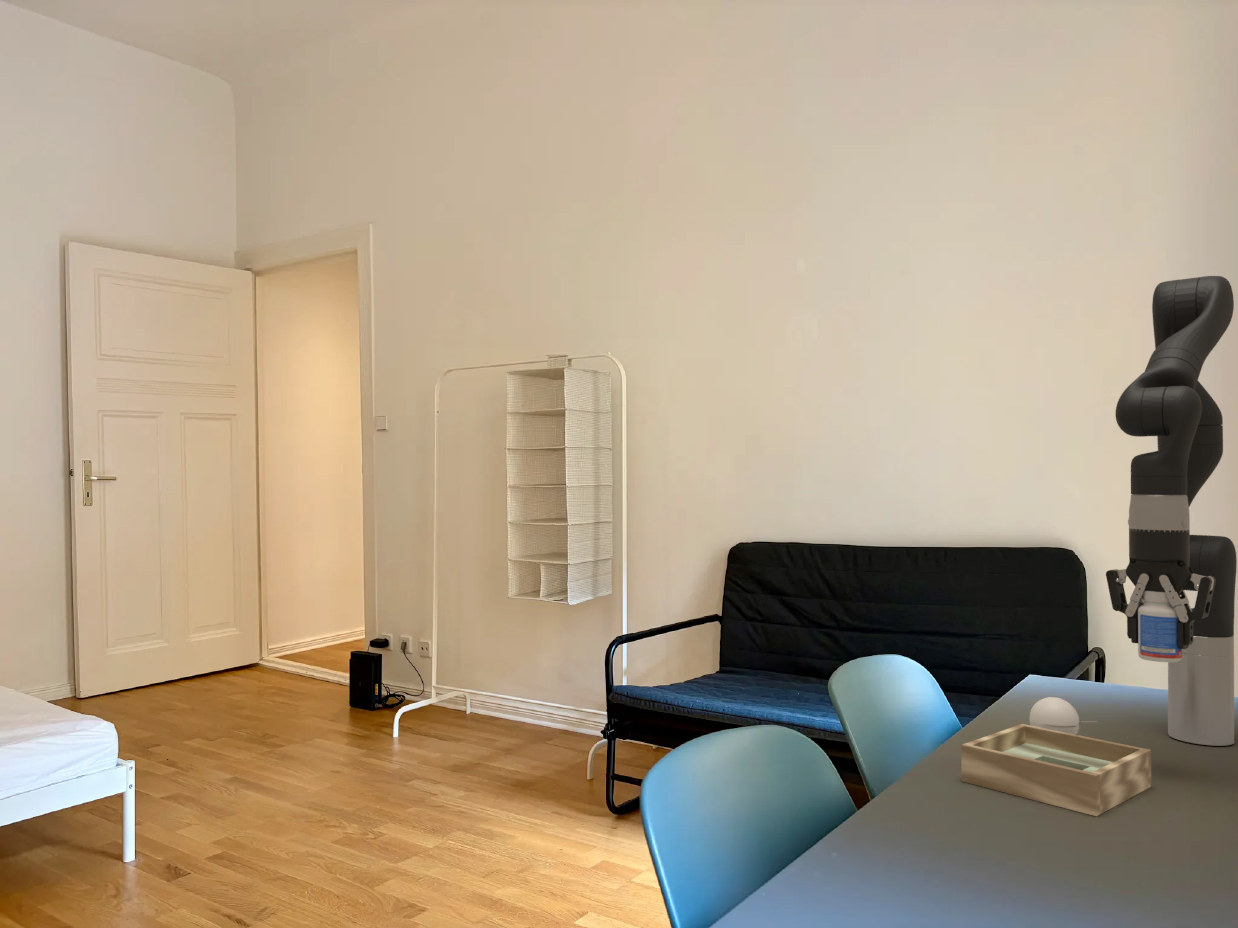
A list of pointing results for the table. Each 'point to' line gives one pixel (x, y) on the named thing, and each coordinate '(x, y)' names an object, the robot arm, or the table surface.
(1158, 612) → the pill bottle
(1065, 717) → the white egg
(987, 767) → the bore box
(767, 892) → the table surface
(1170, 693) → the robot arm
